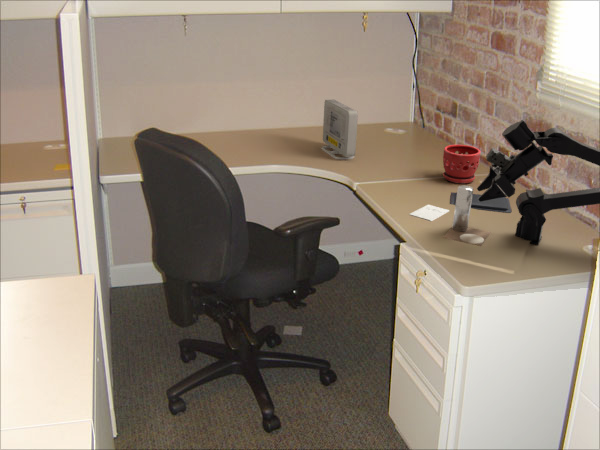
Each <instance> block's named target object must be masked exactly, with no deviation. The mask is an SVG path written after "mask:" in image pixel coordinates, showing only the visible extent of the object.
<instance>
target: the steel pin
mask: <svg viewBox="0 0 600 450" xmlns="http://www.w3.org/2000/svg"><path fill="white" fill-rule="evenodd" d="M456 193H457V197H456V205H454V213H453V221H452V226H453V227H452V226H451V228H452V229H453V230H454V231H457V232H466V231H467V229H468V227H469V223H470V214H471V209H472V208H471V202H472V195H473V194H474V187H472V186H470V185H463V184H462V185H458V186H457V191H456Z"/></svg>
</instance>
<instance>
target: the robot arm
mask: <svg viewBox="0 0 600 450" xmlns="http://www.w3.org/2000/svg"><path fill="white" fill-rule="evenodd" d="M501 135H502V137H503V138H504V140H506V142H507V143H508V144H509V145H510V146H511V147H512V149H513V150H514V151H517V150H518V151H520V152H519V153H517V154H511V155H509V156H508V155H507V154H505V153H503V152H502V151H500V150H498V149H496V148H495V147H491V149H490V150H489V152H488V153H487V154H486V156H485V158H486V161H487V162H488V163H490V164H491V165H489V171H488V172H489V173H488V174H487V176H486V177H485V178H484V179H483V180H482V182H481V183H480V184H479V185H478V186H477V188H476V190H477V191H478V192H481V191H482V192H483V191H484V192H483V193H482V194H480V195H481V196H480V197H479V198H478V200H479V201H480V202H482V201H486V200H491V199H496V198H502V197H505V198H511V197H512V196H514V195H515V194H516V193H515V192H516V187H515V184H517V183H516V181H518V180H519V179H520V178H522V177H523V176H525V177H526V176H528V175H529V172H530V171H532V170H533V169H535V168H536V167H537V166H539V165H540V164H542V163H543V162H546V163H547V164H548V166H552V162H553V158H554V155H553V154H555V155H556V154H557V155H562V156H570V157H575V158H578V159H580V160H583V161H586V162H588V163H592V164H594V165H596V166H599V167H600V149H599V148H597V147H593V146H591V145H589V144H586V143H583V142H581V141H579V140H577V139H576V138H574V137H572V136H571V135H569V134H568V133H566V132H565V131H563V130H561V128H556V127H551V128H548V129H547V130H544V131H532V130H531V128H530V127H529V126H528V125H527V122H526V121H525V120H524V119H521V120H520V121H517V122H515V123H513V124H510V125H509V126H508V127H507V128H506V129H504V130H503V132H502V134H501ZM534 141H535V142H534ZM535 143H536V144H535ZM537 145H538V146H537ZM545 148H546V150H547V151H548V152H550V153H548V152H547V151H546V150H545ZM515 204H516V208H517V210H518V213H519V215H520V216H521V217H520V218H519V220H518V222H517V223H516V228H515V236H516V237H517V238H520V239H522V240H525V241H529V244H531V245H535V246H536V245H537V246H538V245H540V242H541V240H542V239H543V236H542V234H543V229H544V225H545V223H546V221H547V217H546V216H545V214H547V213H548V212H551V211H553V210H562V209H568V208H569V209H570V208H577V207H578V208H579V207H586V206H593V205H600V187H595V188H594V187H593V188H587V189H581V190H579V189H578V190H573V191H572V190H571V191H565V192H563V191H562V192H555V193H550V194H549V193H544V191H543V190H542V188H541V187H540V188H536V189H526V190H525V191H524V192H521V193H520V194H519V195H517V197H516V199H515Z"/></svg>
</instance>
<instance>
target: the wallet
mask: <svg viewBox="0 0 600 450" xmlns="http://www.w3.org/2000/svg"><path fill="white" fill-rule="evenodd" d="M481 195H482V194H478V193H473V195H472V202H471V209H474V210H476V211H477V210H478V211H487V212H496V213H503V214H511V213H512V207H511V202H510V197H506V198H505V197H502V198H496V199H491V200H486V201H482V202H480V201H479V200H478V198H479V197H480V196H481ZM456 197H457V192H453V191H452V192H450V197H449V205H453V206H455V205H456Z"/></svg>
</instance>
